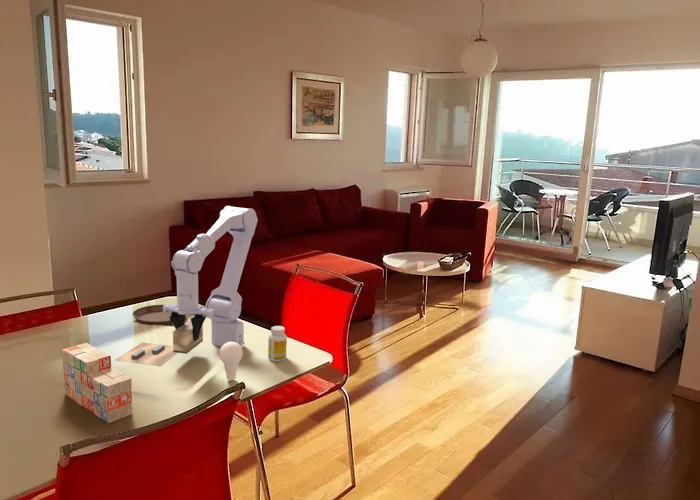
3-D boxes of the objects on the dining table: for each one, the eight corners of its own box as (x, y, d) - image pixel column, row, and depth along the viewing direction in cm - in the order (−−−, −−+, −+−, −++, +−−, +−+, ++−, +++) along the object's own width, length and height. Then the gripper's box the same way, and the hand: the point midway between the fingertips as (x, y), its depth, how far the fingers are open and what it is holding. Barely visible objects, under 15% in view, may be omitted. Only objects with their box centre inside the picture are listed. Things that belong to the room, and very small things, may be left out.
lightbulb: (246, 378, 154) (247, 340, 151) (235, 387, 148) (235, 348, 146) (227, 374, 156) (227, 336, 153) (215, 383, 150) (214, 344, 148)
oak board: (184, 352, 169) (184, 347, 169) (160, 371, 156) (160, 365, 155) (142, 346, 172) (142, 342, 172) (115, 364, 158) (114, 359, 158)
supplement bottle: (264, 359, 167) (264, 328, 165) (275, 353, 171) (275, 323, 169) (279, 363, 164) (280, 332, 162) (289, 357, 169) (290, 327, 167)
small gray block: (164, 348, 168) (164, 345, 168) (156, 353, 163) (156, 350, 163) (160, 347, 168) (160, 344, 168) (152, 353, 164) (152, 350, 163)
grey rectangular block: (144, 353, 164) (144, 350, 163) (136, 359, 159) (136, 355, 159) (140, 352, 164) (140, 349, 164) (131, 358, 160) (131, 355, 159)
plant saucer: (196, 316, 201) (196, 308, 201) (163, 332, 185) (163, 323, 185) (156, 309, 208) (156, 301, 207) (121, 323, 191) (120, 315, 191)
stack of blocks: (133, 414, 132) (131, 366, 130) (107, 424, 127) (105, 374, 125) (89, 386, 145) (86, 341, 143) (64, 394, 141) (61, 348, 138)
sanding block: (202, 340, 165) (202, 321, 164) (186, 353, 155) (186, 333, 154) (190, 339, 166) (190, 320, 164) (173, 352, 156) (172, 331, 155)
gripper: (156, 294, 155) (158, 340, 158) (205, 299, 152) (206, 346, 155) (169, 287, 161) (170, 332, 164) (216, 292, 159) (216, 337, 162)
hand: (188, 338), depth 160 cm, fingers closed on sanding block, 4 cm apart
